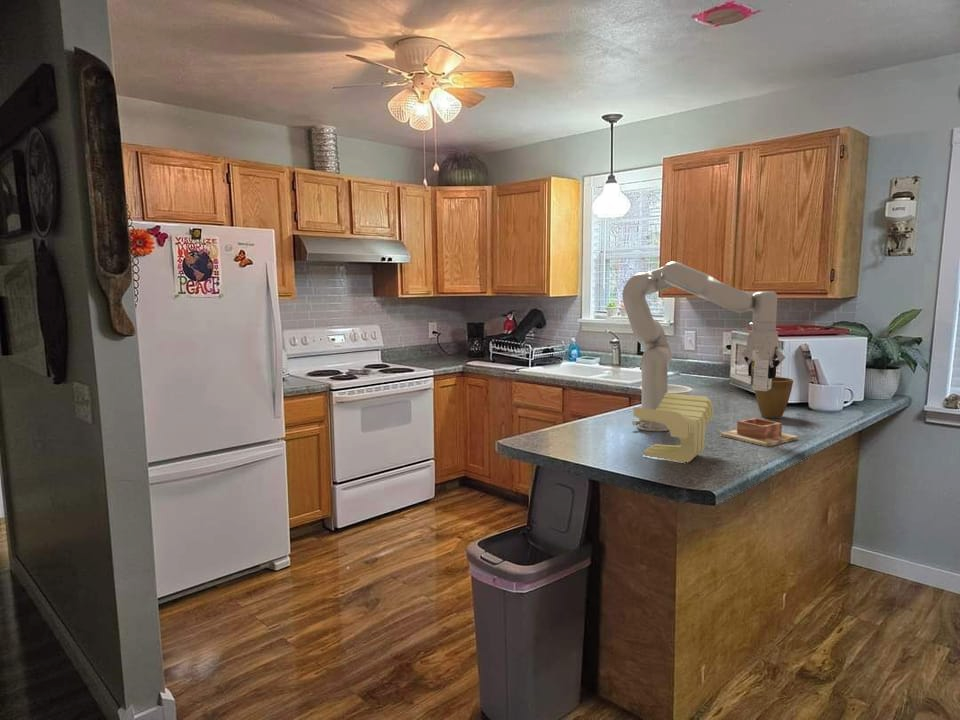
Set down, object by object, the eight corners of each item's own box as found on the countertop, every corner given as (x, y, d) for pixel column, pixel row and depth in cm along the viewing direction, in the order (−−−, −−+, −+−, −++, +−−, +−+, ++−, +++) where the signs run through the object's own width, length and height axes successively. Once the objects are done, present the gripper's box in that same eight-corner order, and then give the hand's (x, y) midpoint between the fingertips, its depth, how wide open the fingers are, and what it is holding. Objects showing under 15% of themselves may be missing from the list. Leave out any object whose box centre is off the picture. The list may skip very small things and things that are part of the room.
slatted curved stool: (684, 472, 178) (686, 413, 176) (632, 464, 187) (633, 407, 185) (711, 449, 202) (713, 397, 200) (664, 443, 211) (665, 392, 209)
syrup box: (754, 388, 219) (756, 348, 217) (772, 389, 215) (774, 349, 214) (749, 390, 215) (751, 349, 213) (767, 391, 211) (769, 350, 209)
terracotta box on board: (766, 446, 205) (767, 430, 204) (721, 436, 220) (721, 420, 219) (797, 439, 214) (798, 423, 213) (752, 429, 229) (752, 414, 229)
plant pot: (799, 417, 249) (801, 379, 247) (776, 422, 242) (778, 382, 240) (766, 411, 262) (768, 374, 260) (743, 415, 254) (745, 377, 253)
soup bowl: (628, 401, 288) (628, 387, 287) (657, 395, 303) (658, 382, 302) (673, 409, 269) (673, 394, 268) (702, 402, 285) (702, 388, 284)
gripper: (735, 326, 218) (733, 375, 220) (780, 328, 203) (778, 381, 205) (748, 325, 222) (746, 373, 224) (793, 327, 207) (791, 379, 209)
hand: (761, 376), depth 214 cm, fingers closed on syrup box, 7 cm apart
